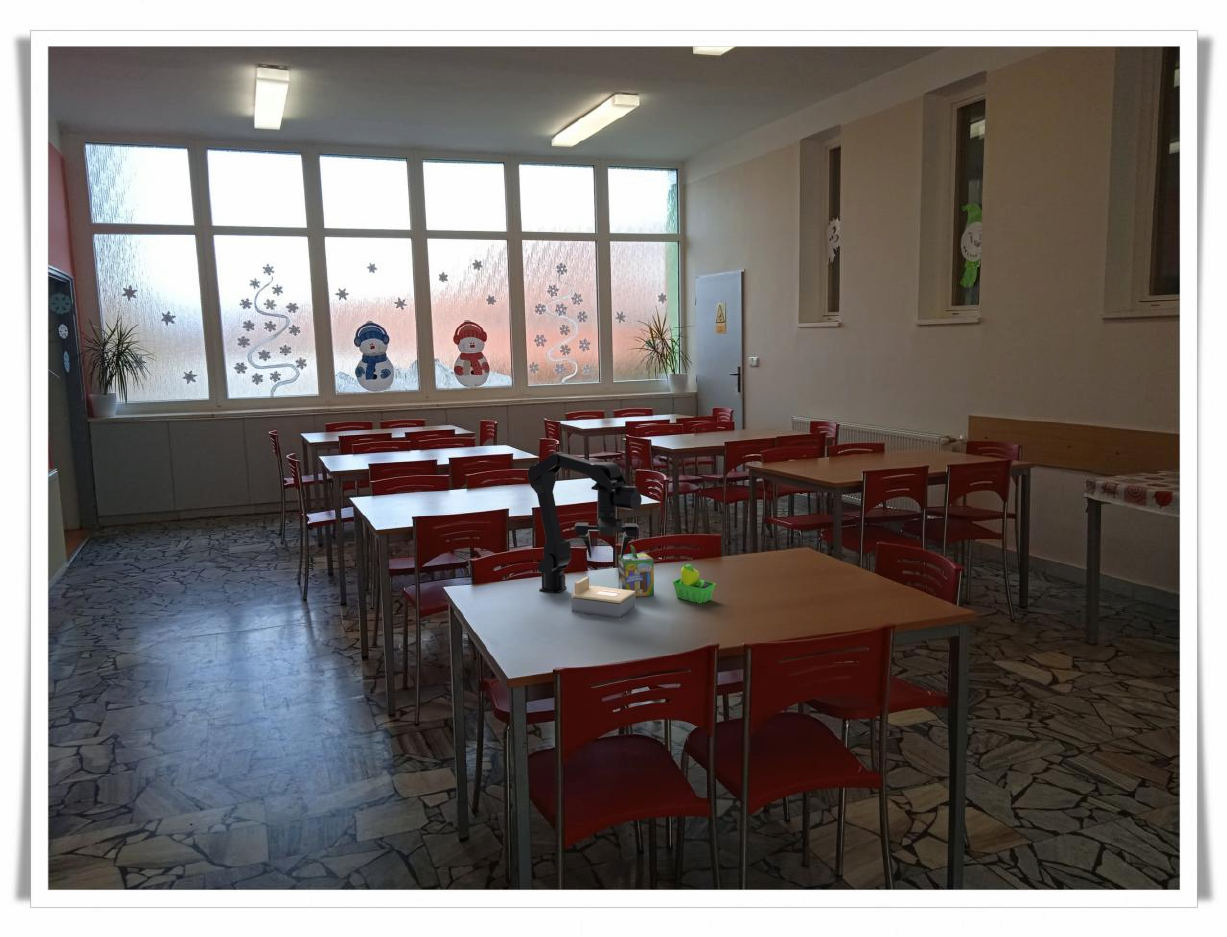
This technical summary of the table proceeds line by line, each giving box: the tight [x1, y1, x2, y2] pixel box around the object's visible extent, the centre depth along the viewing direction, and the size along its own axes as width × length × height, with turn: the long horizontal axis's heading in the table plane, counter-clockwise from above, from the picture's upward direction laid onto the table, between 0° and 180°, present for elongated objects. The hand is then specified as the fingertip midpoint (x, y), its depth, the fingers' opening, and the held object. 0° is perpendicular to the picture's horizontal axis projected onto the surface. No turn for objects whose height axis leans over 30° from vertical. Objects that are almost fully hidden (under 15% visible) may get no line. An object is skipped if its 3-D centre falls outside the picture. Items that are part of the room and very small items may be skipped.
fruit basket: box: [672, 563, 717, 604], centre depth 253 cm, size 11×9×11 cm
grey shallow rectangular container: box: [571, 594, 636, 619], centre depth 243 cm, size 15×11×4 cm
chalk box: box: [617, 544, 655, 598], centre depth 259 cm, size 9×9×15 cm
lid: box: [571, 576, 635, 603], centre depth 243 cm, size 15×11×4 cm
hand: (606, 557), depth 250 cm, fingers open, 9 cm apart
